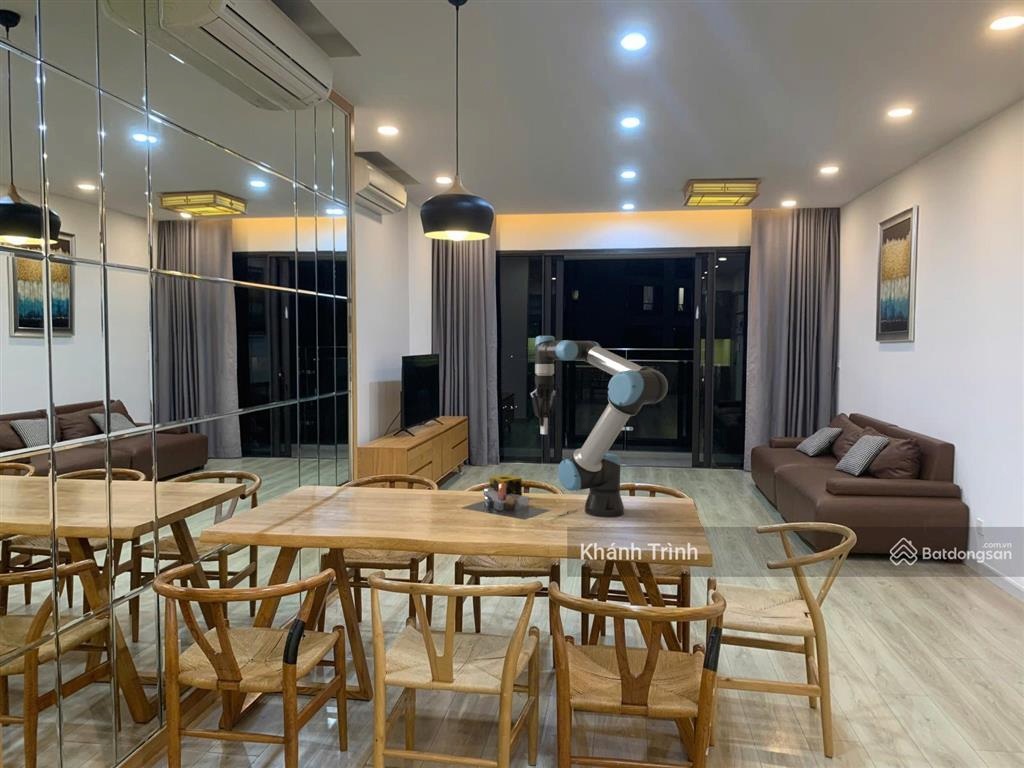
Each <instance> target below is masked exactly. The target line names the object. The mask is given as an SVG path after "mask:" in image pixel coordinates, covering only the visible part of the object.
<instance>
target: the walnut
mask: <svg viewBox="0 0 1024 768" xmlns="http://www.w3.org/2000/svg"><path fill="white" fill-rule="evenodd" d="M516 498H517V497H514V496H508V497H506V508H507V509H515V499H516Z"/></svg>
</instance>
